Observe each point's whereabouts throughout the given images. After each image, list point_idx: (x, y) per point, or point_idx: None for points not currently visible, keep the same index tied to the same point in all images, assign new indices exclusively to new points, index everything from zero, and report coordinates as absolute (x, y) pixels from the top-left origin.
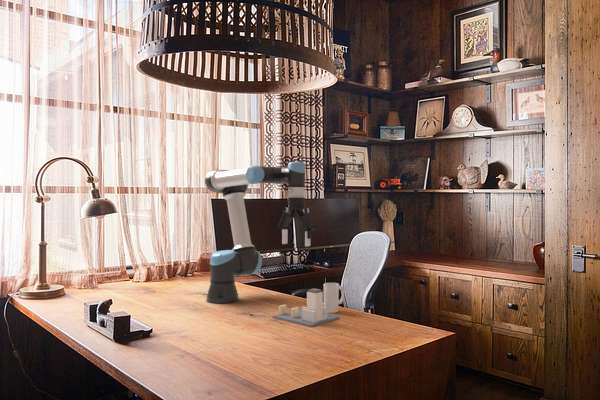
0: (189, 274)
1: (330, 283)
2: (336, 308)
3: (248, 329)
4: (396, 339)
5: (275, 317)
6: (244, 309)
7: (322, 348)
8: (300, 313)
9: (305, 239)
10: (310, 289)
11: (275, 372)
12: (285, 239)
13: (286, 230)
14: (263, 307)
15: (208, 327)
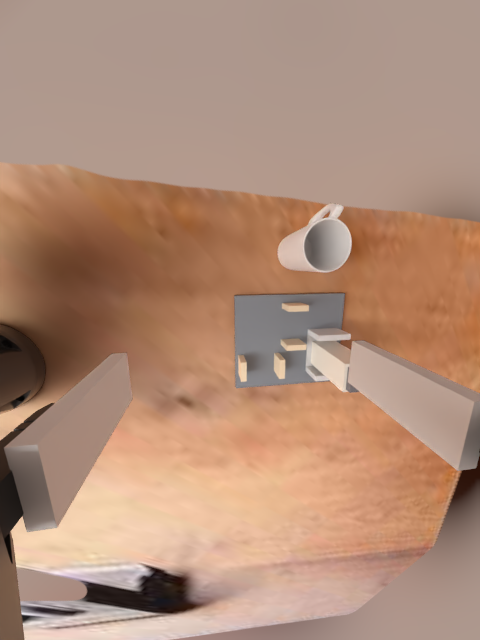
0: None
1: (311, 227)
2: (314, 252)
3: (262, 461)
4: (475, 332)
5: (244, 386)
6: (134, 385)
7: (405, 439)
8: (266, 333)
9: (386, 409)
10: (353, 388)
11: (403, 523)
12: (115, 394)
13: (54, 451)
14: (148, 341)
15: (204, 501)
